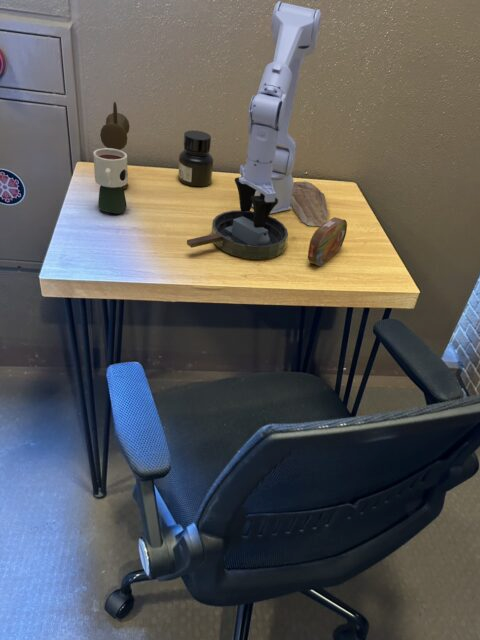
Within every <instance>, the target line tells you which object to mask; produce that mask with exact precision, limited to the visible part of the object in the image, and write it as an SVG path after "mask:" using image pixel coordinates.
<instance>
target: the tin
mask: <svg viewBox="0 0 480 640" xmlns="http://www.w3.org/2000/svg"><path fill="white" fill-rule="evenodd" d="M347 230H348V222H347V220H346V219H342V218H340V217H335V216H334V217H332V218H331V219H329V220H327V221H326V223H325V224H324V225H322V226H318V228H316V230H315V231H314V232H313V234H312V236H311V238H310V241H309V246H308V252H307V260H308V262H310V263H311V264H314V265H317V266H318V267H322V266H323V265H324V264H326V263H327V262H328V261H329V260H331V259H332V258H333V257H335V255H337V254H338V253H339V251H340V249H342V246H343V243H344V241H345V239H346V235H347Z"/></svg>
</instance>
